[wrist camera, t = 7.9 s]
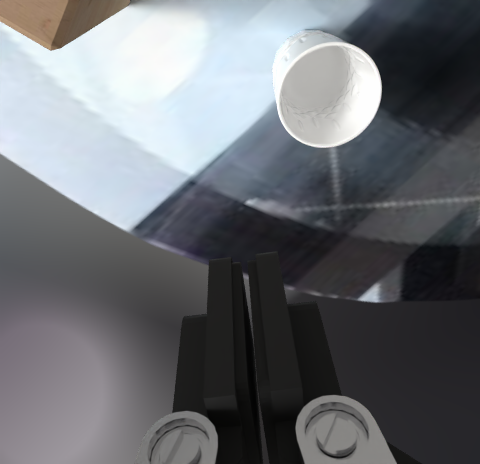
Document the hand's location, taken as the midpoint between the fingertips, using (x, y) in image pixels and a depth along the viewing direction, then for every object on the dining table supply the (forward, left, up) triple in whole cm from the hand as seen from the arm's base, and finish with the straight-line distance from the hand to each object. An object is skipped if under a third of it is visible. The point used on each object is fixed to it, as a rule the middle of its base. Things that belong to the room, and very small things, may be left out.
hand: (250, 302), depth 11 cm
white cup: (-7, +3, -35) cm, 36 cm away
